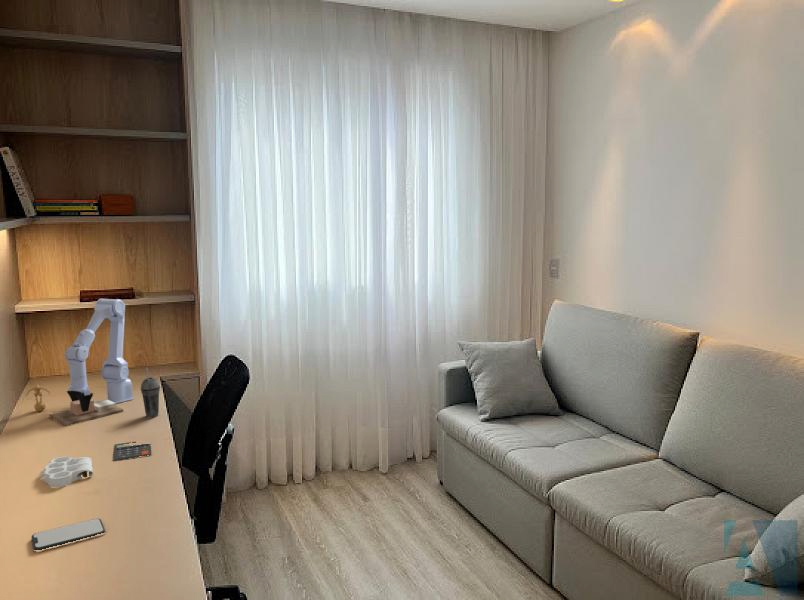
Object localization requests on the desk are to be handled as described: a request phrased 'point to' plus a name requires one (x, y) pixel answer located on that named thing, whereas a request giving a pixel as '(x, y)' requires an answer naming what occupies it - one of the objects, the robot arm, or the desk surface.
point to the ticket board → (100, 408)
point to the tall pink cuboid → (77, 407)
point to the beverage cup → (150, 396)
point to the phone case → (67, 534)
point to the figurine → (40, 405)
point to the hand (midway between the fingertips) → (81, 409)
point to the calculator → (130, 451)
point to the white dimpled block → (66, 470)
